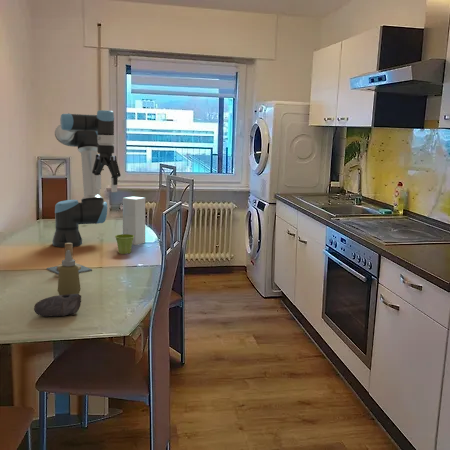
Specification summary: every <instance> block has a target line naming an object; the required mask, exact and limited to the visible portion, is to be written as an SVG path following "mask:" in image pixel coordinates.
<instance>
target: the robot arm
mask: <svg viewBox="0 0 450 450" xmlns="http://www.w3.org/2000/svg"><path fill="white" fill-rule="evenodd" d="M59 122H60V124H59V125H58V126H56V128H55V130H54V137H55V139H56V140H57V141H58V142H59V143H60V144H62V145H65V146H67V147H74V148H75V147H76V148H77V151H78V152H79V153H80V157H81V173H82V186H83V187H82V188H83V197H82V198H81V199H80V200H81V202H79V200H78V199H66V200H61V201H58V202H57V203H56V204H55V206H54V217H55V224H54V225H55V231H54V235H53V238H52V246H53V247H57V248H58V247H59V248H65V243H73V248H74V247H78V246H82V245H83V238H82V236H81V233H80V230H79V225H93V224H95V225H97V224H103V223H105V221H106V219H107V215H108V203H107V201H104V197H103V196H101V189H102V175H101V174H102V171H103V169H104V167H105V166H107V168H108V171H109V173H110V175H111V178H110V180H111V181H110V183H111V186H110V190H111V193H118V178H119V177H121V172H120V168H119V163H118V162H117V161H118V160H117V156H116V155H113V154H114V153H115V146H114V144H115V115H114V111H113V110H108V109H107V110H106V109H105V110H101V109H100V110H97V113H96V114H79V113H77V114H76V113H69V112H68V113H62V114H61V115H60V121H59Z"/></svg>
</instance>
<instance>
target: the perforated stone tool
mask: <svg viewBox="0 0 450 450" xmlns="http://www.w3.org/2000/svg"><path fill="white" fill-rule="evenodd" d="M81 304H82V295H81V294H80V293H79V294H67V295H59V294H58V295H54V296H49V297H46V298H42V299H41V300H39V301H37V302H36V303H35V304H34V307H33V311H34V313H35V314H37V316H39V317H45V318H46V317H65V316H69V315H72V316H73V315H76V313H77V312H78V311H79V310H80V308H81Z"/></svg>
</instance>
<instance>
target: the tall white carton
mask: <svg viewBox="0 0 450 450" xmlns="http://www.w3.org/2000/svg"><path fill="white" fill-rule="evenodd" d="M122 234H130V235H134V237H133V241H132V246H138V245H142V244H145V243H146V197H141V196H134V195H133V196H127V197H123V198H122Z"/></svg>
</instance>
